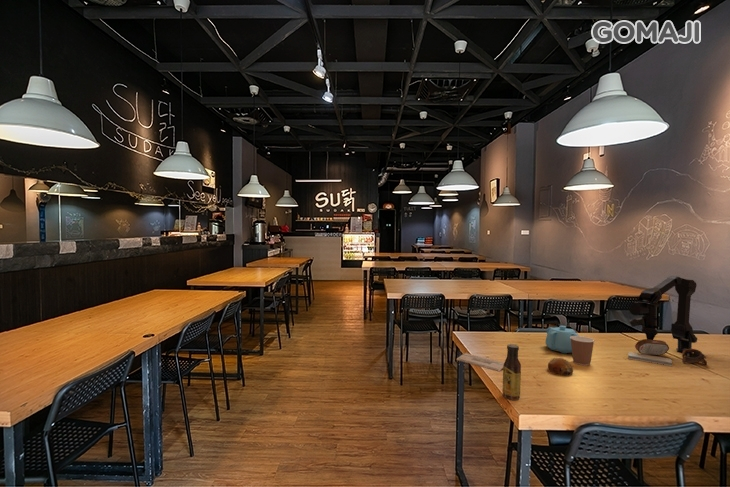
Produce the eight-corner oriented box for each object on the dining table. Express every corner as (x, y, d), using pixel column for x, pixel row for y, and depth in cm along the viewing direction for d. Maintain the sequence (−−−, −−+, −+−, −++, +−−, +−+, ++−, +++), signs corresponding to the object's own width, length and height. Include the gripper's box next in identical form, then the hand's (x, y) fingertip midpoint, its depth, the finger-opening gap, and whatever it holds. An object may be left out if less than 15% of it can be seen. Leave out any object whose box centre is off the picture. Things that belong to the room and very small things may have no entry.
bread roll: (571, 378, 160) (569, 360, 163) (576, 376, 151) (574, 357, 154) (547, 375, 163) (546, 358, 166) (550, 373, 154) (549, 355, 157)
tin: (662, 353, 184) (668, 340, 181) (666, 357, 181) (672, 344, 178) (632, 350, 186) (637, 337, 182) (636, 354, 183) (641, 341, 180)
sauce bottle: (499, 393, 135) (500, 342, 135) (514, 393, 135) (515, 342, 135) (507, 401, 128) (508, 348, 128) (524, 401, 129) (524, 347, 129)
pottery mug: (714, 368, 166) (710, 354, 164) (694, 375, 168) (689, 362, 166) (693, 354, 178) (688, 341, 176) (674, 361, 179) (669, 348, 178)
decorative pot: (545, 352, 187) (545, 327, 187) (545, 344, 201) (546, 321, 201) (580, 357, 179) (581, 331, 179) (578, 349, 193) (579, 324, 193)
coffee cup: (592, 361, 173) (592, 337, 173) (596, 368, 164) (596, 342, 164) (568, 358, 177) (568, 334, 177) (570, 364, 168) (571, 339, 168)
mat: (629, 352, 187) (629, 350, 187) (671, 359, 176) (671, 356, 176) (628, 358, 178) (628, 355, 178) (672, 366, 167) (672, 363, 167)
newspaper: (510, 366, 167) (510, 361, 167) (499, 375, 158) (499, 370, 158) (466, 354, 183) (466, 350, 182) (455, 362, 174) (454, 358, 174)
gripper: (631, 310, 196) (630, 337, 196) (629, 315, 182) (629, 344, 182) (656, 312, 189) (656, 341, 189) (657, 318, 175) (657, 349, 175)
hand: (649, 344), depth 184 cm, fingers closed
